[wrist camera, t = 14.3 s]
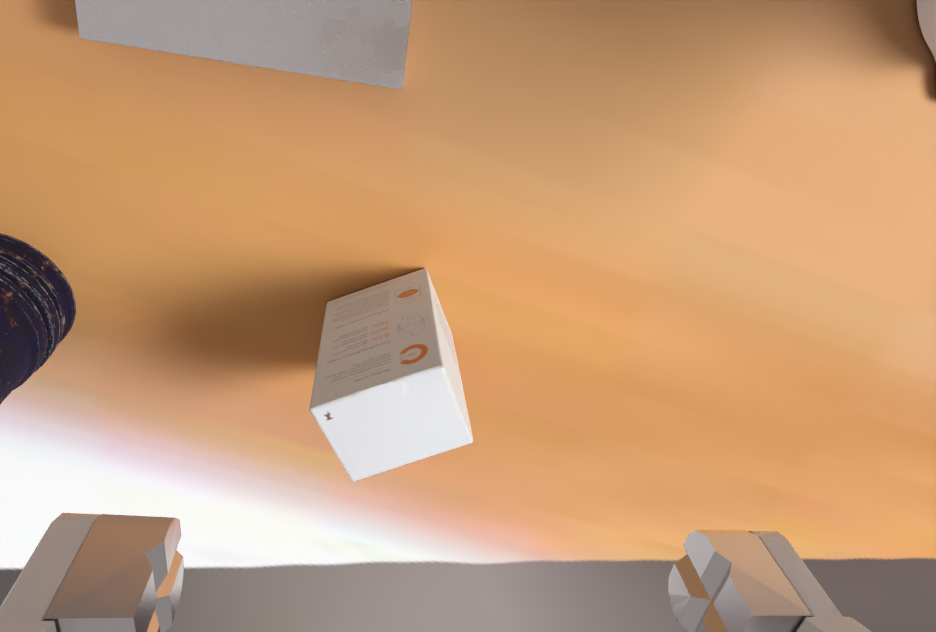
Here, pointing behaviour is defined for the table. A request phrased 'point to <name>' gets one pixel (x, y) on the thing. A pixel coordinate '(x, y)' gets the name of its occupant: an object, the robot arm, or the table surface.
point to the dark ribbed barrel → (29, 311)
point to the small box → (389, 378)
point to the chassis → (264, 33)
